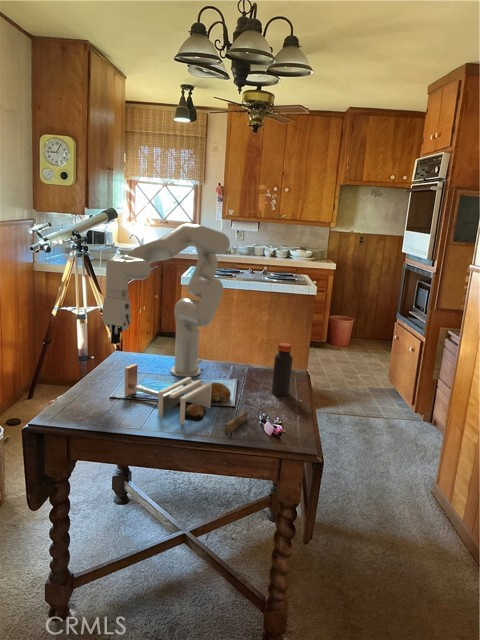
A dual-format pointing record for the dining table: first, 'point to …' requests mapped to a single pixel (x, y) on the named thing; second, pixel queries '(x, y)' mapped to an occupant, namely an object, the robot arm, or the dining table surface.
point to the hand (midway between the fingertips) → (115, 343)
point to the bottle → (282, 370)
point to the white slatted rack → (187, 395)
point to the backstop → (235, 422)
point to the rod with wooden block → (132, 388)
